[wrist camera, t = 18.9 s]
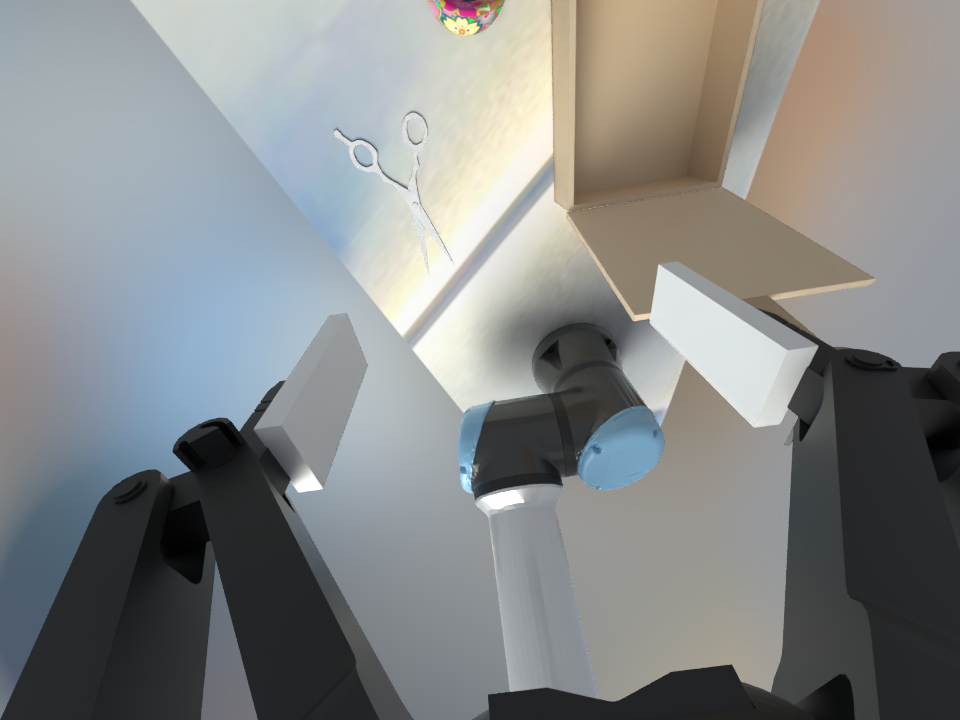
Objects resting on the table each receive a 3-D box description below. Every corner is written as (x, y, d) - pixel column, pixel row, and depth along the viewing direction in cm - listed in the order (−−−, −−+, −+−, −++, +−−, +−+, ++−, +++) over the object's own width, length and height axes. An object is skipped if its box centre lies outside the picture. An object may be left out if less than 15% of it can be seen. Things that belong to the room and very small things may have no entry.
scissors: (414, 93, 39) (475, 257, 50) (415, 94, 40) (475, 255, 50) (332, 131, 41) (408, 282, 51) (334, 131, 41) (409, 280, 52)
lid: (727, 173, 39) (716, 205, 42) (567, 199, 40) (565, 229, 42) (1061, 353, 18) (997, 395, 21) (712, 403, 19) (692, 438, 21)
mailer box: (687, 179, 46) (721, 187, 40) (554, 201, 47) (568, 211, 41) (727, -40, 35) (781, -73, 29) (551, -8, 35) (569, -35, 30)
